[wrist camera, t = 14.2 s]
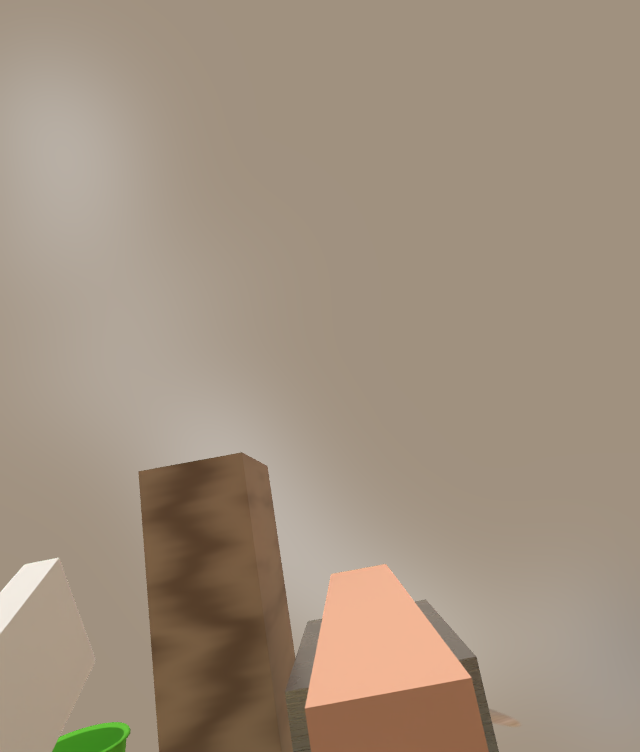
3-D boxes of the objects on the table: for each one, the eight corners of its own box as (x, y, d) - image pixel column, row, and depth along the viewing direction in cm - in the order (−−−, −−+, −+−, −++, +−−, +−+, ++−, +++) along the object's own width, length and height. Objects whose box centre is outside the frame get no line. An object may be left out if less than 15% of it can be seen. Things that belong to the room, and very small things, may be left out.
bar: (335, 920, 10) (304, 708, 11) (341, 635, 33) (331, 574, 35) (519, 886, 10) (471, 677, 11) (398, 624, 33) (386, 564, 35)
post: (186, 1126, 24) (138, 471, 32) (235, 935, 34) (189, 480, 43) (327, 1101, 24) (242, 452, 32) (332, 917, 34) (267, 466, 43)
